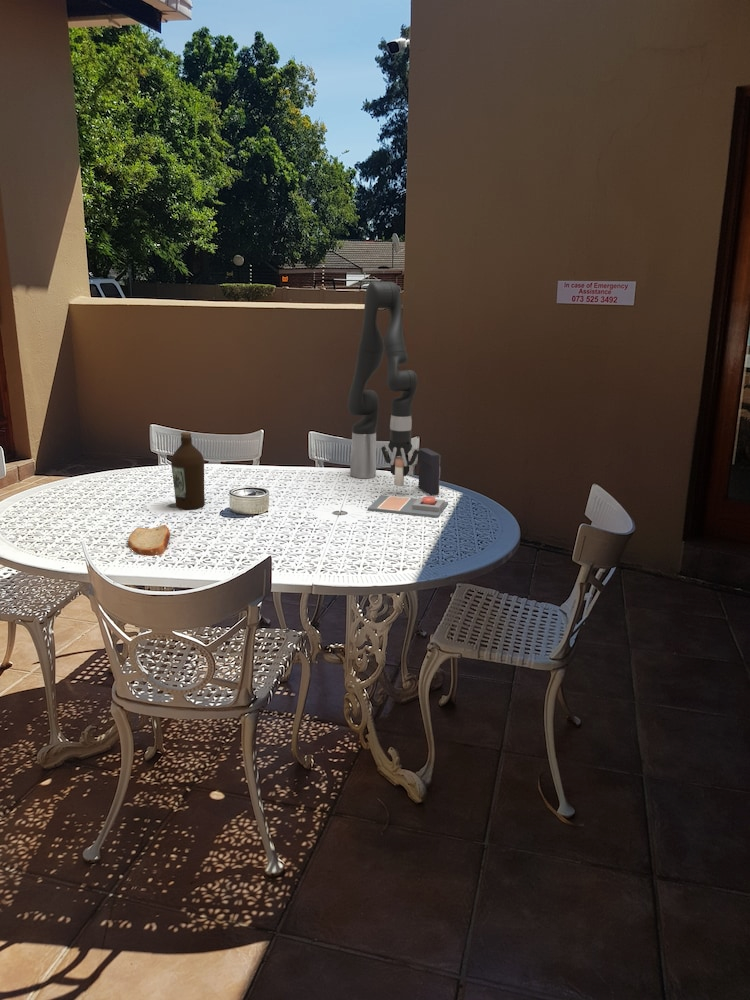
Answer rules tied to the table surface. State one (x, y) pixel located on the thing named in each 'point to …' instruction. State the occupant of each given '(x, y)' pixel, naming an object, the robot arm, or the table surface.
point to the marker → (399, 472)
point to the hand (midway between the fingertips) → (399, 474)
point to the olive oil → (188, 475)
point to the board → (407, 506)
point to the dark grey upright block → (429, 471)
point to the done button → (428, 500)
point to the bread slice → (149, 540)
